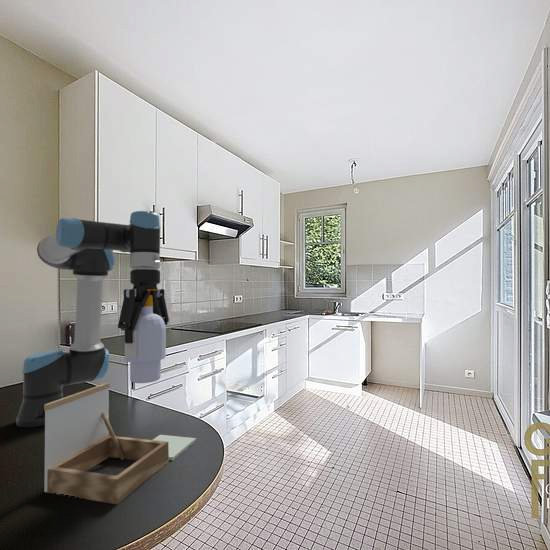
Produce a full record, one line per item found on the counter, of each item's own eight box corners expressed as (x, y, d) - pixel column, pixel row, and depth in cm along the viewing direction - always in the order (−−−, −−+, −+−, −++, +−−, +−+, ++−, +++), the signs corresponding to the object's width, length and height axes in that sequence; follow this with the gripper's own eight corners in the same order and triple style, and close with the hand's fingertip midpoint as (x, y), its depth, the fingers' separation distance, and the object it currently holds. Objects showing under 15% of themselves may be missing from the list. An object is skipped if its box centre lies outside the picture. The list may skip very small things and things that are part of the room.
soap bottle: (159, 384, 87) (159, 288, 88) (118, 386, 86) (118, 289, 88) (170, 375, 97) (169, 289, 98) (132, 376, 97) (132, 289, 98)
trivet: (133, 455, 93) (133, 452, 93) (160, 437, 104) (160, 434, 104) (173, 460, 89) (173, 457, 89) (196, 441, 101) (195, 438, 101)
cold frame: (45, 492, 76) (46, 437, 77) (107, 454, 94) (107, 409, 94) (117, 504, 71) (117, 445, 72) (168, 461, 89) (168, 414, 89)
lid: (43, 492, 76) (44, 404, 77) (106, 453, 94) (106, 382, 95) (46, 492, 76) (47, 404, 77) (109, 453, 94) (109, 382, 95)
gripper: (126, 266, 81) (126, 361, 80) (181, 270, 103) (181, 346, 102) (101, 267, 84) (101, 360, 83) (159, 271, 105) (160, 345, 104)
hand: (145, 352), depth 92 cm, fingers closed on soap bottle, 10 cm apart
